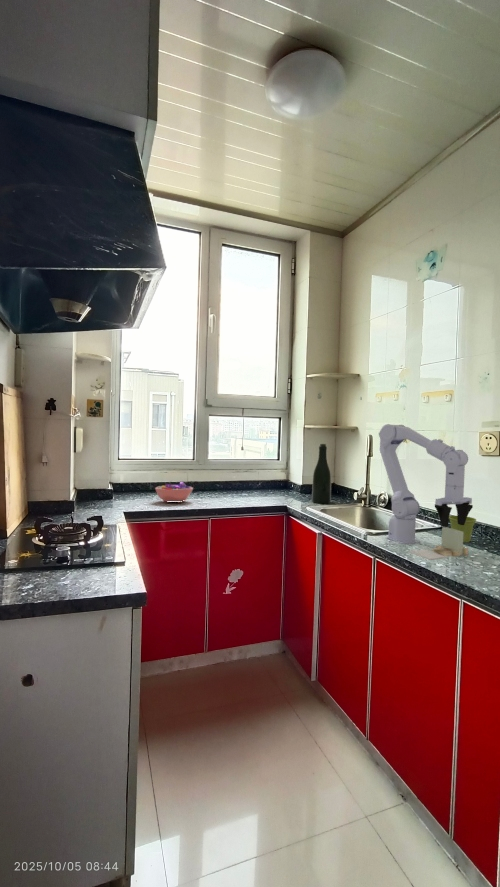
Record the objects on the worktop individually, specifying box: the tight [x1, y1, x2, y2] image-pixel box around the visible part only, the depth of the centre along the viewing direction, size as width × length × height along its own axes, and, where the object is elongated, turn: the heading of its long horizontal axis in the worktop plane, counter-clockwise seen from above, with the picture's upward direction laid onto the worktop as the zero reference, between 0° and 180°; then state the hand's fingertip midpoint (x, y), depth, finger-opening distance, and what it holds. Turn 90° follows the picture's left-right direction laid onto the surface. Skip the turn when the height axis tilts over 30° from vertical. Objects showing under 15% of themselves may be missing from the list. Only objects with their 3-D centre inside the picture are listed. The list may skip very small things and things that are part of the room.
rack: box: [435, 544, 469, 557], centre depth 145 cm, size 9×5×2 cm, turn 22°
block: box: [440, 526, 464, 556], centre depth 145 cm, size 7×2×8 cm, turn 22°
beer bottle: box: [311, 443, 332, 505], centre depth 238 cm, size 10×10×33 cm
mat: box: [408, 548, 447, 561], centre depth 141 cm, size 9×7×1 cm
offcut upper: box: [433, 547, 453, 556], centre depth 143 cm, size 5×3×1 cm, turn 23°
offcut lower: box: [430, 549, 453, 557], centre depth 143 cm, size 6×4×1 cm, turn 22°
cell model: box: [154, 481, 194, 502], centre depth 227 cm, size 17×20×11 cm
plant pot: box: [449, 515, 477, 543], centre depth 161 cm, size 9×9×9 cm
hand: (452, 525), depth 145 cm, fingers open, 7 cm apart
